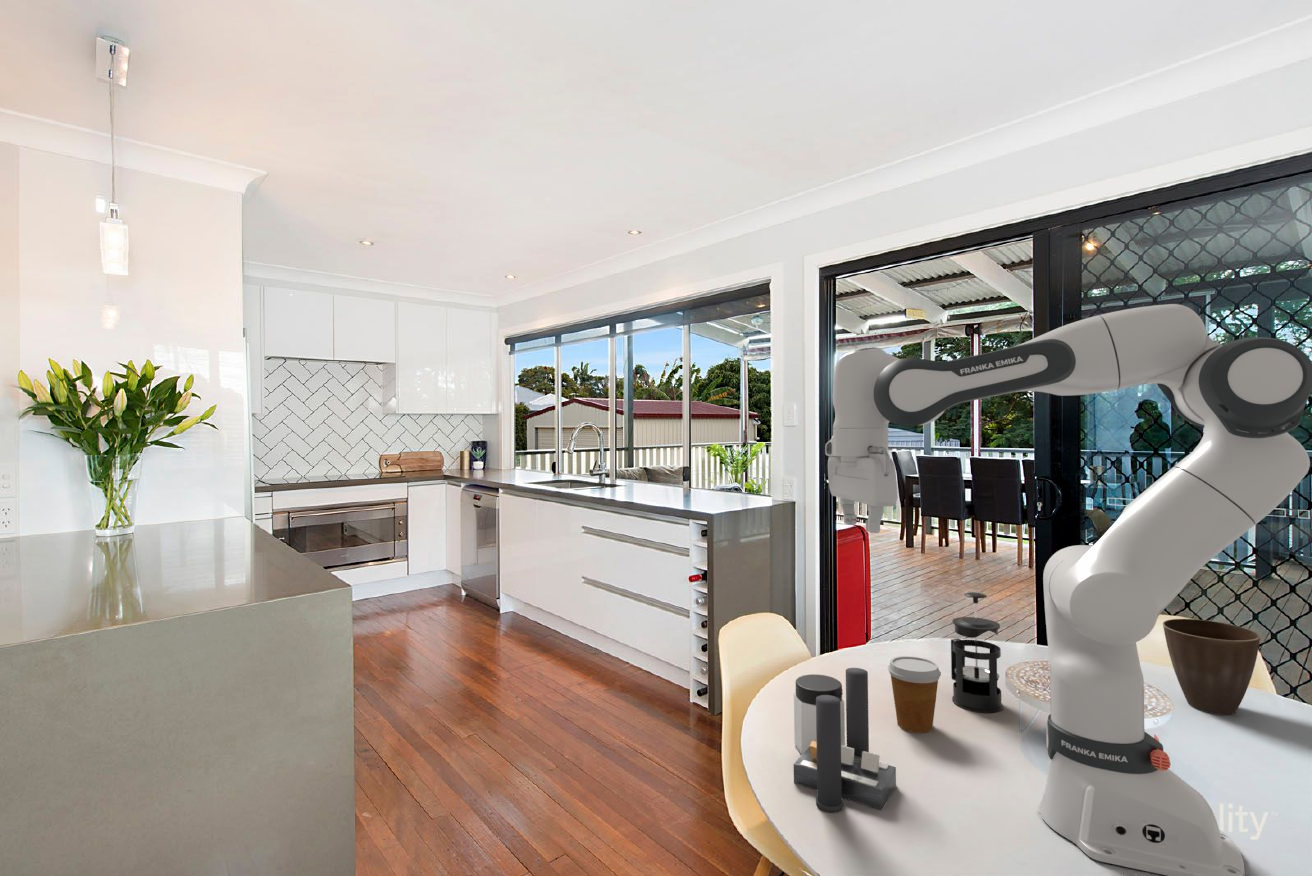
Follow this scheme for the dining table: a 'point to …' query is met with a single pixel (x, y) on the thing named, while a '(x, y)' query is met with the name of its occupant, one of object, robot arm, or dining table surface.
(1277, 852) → the dining table surface
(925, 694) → the disposable coffee cup
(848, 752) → the white block
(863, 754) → the white block
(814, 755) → the tripped paddle
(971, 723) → the dining table surface
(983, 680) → the french press
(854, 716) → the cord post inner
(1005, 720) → the dining table surface
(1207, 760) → the dining table surface
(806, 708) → the jar
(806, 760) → the breaker panel
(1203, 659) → the plant pot
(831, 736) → the cord post outer
